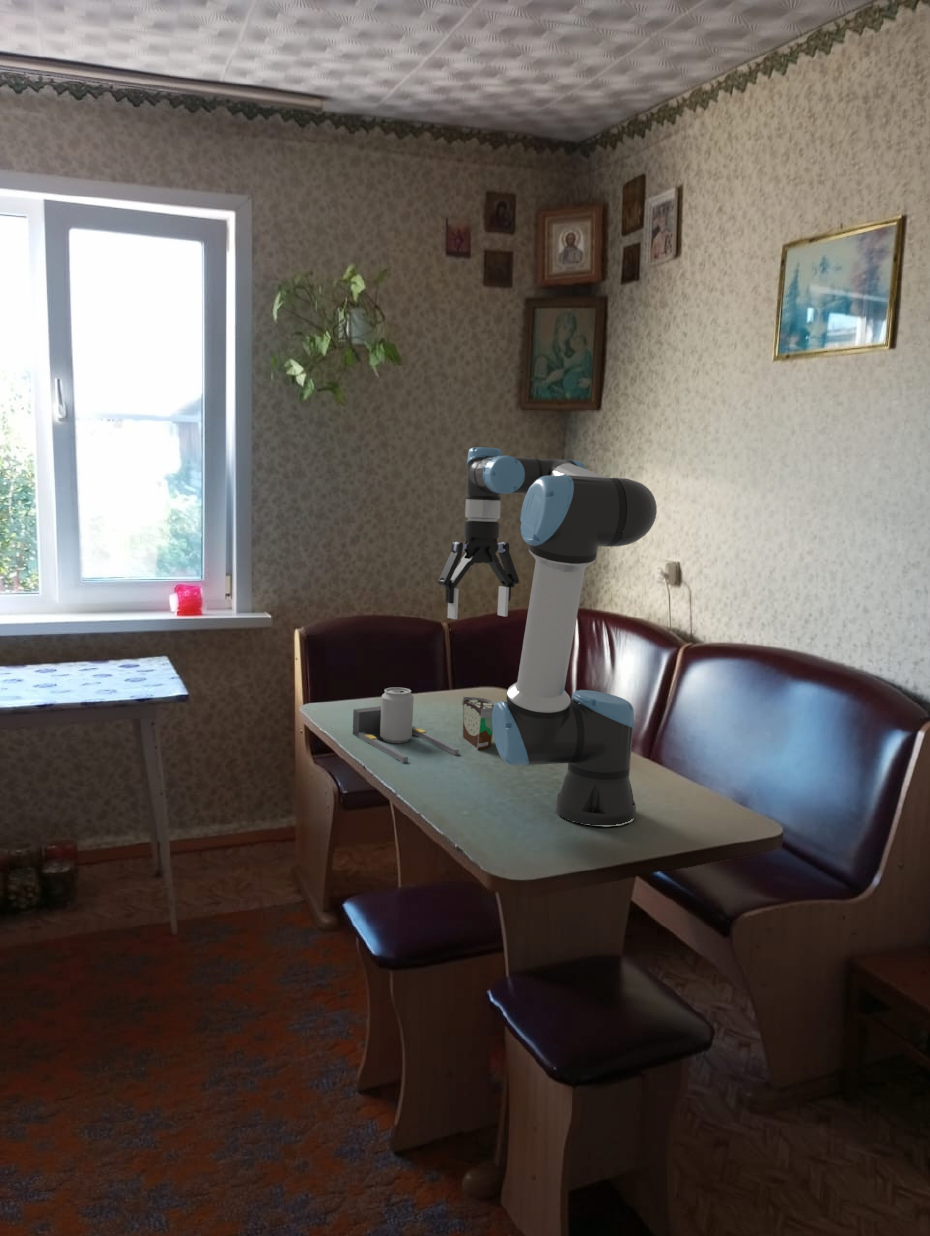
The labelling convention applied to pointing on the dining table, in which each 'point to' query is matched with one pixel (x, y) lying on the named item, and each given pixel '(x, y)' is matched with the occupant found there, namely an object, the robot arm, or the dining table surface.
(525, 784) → the dining table surface
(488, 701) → the food container
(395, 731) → the can
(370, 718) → the guide channel
